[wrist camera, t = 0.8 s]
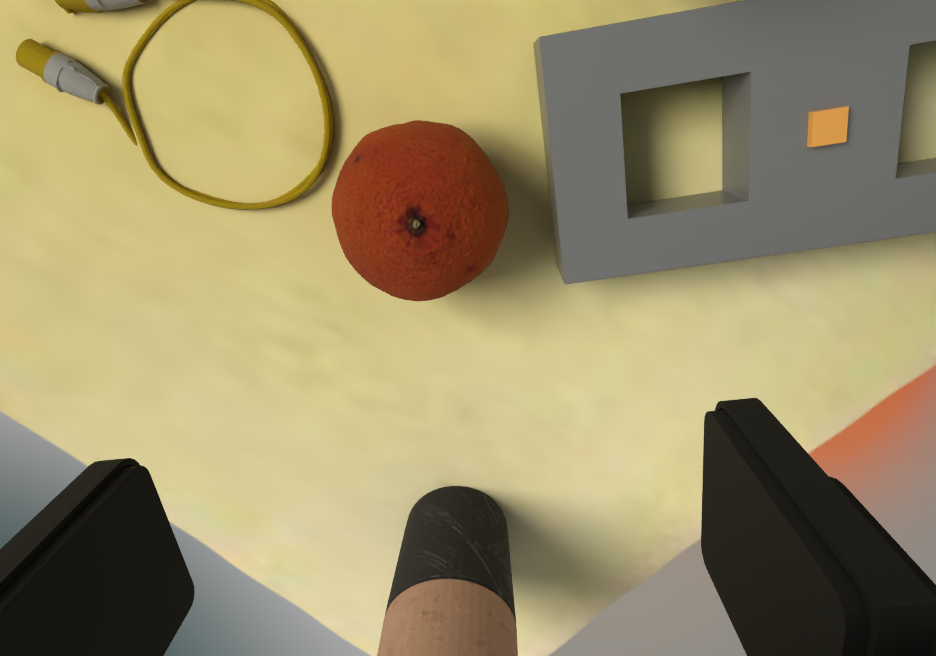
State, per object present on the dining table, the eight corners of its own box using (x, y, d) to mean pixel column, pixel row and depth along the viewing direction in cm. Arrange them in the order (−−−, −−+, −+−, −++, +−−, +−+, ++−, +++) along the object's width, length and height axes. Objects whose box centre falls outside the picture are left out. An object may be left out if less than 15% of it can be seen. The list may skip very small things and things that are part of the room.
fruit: (449, 84, 31) (437, 79, 23) (531, 226, 34) (544, 263, 26) (316, 172, 33) (266, 194, 25) (403, 301, 35) (381, 355, 28)
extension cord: (153, -141, 28) (130, -158, 26) (380, 121, 32) (374, 123, 30) (14, 43, 31) (-16, 40, 29) (237, 260, 35) (223, 270, 33)
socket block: (533, 43, 30) (540, 36, 26) (1077, -54, 28) (1165, -77, 24) (557, 266, 34) (565, 286, 31) (1029, 198, 32) (1098, 211, 28)
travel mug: (439, 463, 40) (398, 787, 21) (532, 515, 41) (569, 862, 22) (383, 537, 42) (303, 885, 24) (472, 583, 43) (461, 947, 25)
